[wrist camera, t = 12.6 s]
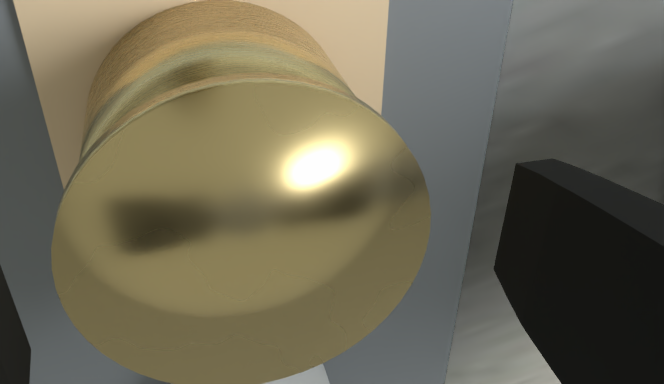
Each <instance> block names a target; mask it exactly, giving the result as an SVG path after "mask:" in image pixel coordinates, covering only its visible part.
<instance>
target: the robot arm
mask: <svg viewBox="0 0 664 384" xmlns="http://www.w3.org/2000/svg"><path fill="white" fill-rule="evenodd" d="M494 271H495V273H496V275H497V277H498V279H499V281H500V283H501V285H502V287H503V289H504V292H505V294H506V296H507V298H508V300H509V302H510V304H511V306H512V307H513V309H514V311H515V313H516V315H517V317H518V319H519V321H520V323H521V325H522V326H523V328H524V329H525V331H526V332H527V334H528V335H529V337H530V338H531V340H532V341H533V343H534V344H535V346H536V347H537V348H538V350H539V351H540V353H541V354H542V356H543V357H544V359H545V360H546V362H547V363H548V365H549V366H550V368H551V369H552V370H553V372H554V373H555V375H556V376H557V378H558V379H559V380H560V382H561V383H562V384H664V205H663V204H660V203H658V202H656V201H654V200H651V199H649V198H647V197H645V196H642V195H640V194H638V193H636V192H633V191H631V190H629V189H627V188H624V187H622V186H620V185H618V184H615V183H613V182H611V181H609V180H606V179H604V178H602V177H599V176H597V175H595V174H592V173H590V172H587V171H585V170H582V169H580V168H577V167H575V166H572V165H570V164H567V163H564V162H561V161H558V160H555V159H547V160H540V161H532V162H525V163H517V164H516V166H515V171H514V176H513V181H512V185H511V190H510V195H509V199H508V204H507V209H506V213H505V218H504V223H503V227H502V232H501V237H500V242H499V246H498V251H497V256H496V260H495V265H494ZM30 363H31V347H30V344H29V342H28V339H27V336H26V333H25V331H24V328H23V325H22V323H21V320H20V317H19V314H18V312H17V309H16V306H15V303H14V301H13V298H12V295H11V292H10V290H9V287H8V284H7V282H6V279H5V276H4V273H3V271H2V268H1V265H0V384H29V381H30Z"/></svg>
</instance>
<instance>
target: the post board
mask: <svg viewBox="0 0 664 384" xmlns="http://www.w3.org/2000/svg"><path fill="white" fill-rule="evenodd" d="M197 1H205V0H0V265H1V268H2V271H3V273H4V276H5V279H6V282H7V284H8V287H9V290H10V292H11V295H12V298H13V301H14V303H15V306H16V309H17V312H18V314H19V317H20V320H21V323H22V325H23V328H24V331H25V333H26V336H27V339H28V342H29V344H30V347H31V363H30V381H29V384H173V383H168V382H164V381H159V380H156V379H153V378H150V377H147V376H144V375H141V374H138V373H136V372H134V371H132V370H130V369H128V368H126V367H123V366H121V365H119V364H118V363H116V362H115V361H113V360H112V359H110V358H108V357H107V356H105V355H104V354H102V353H101V352H100V351H99V350H98V349H96V348H95V347H94V346H93V345H92V344H91V343H89V342H88V341H87V340H86V339H85V338H84V336H83V335H82V334H81V333H80V332H79V331H78V329H77V328H76V327H75V326H74V325H73V323H72V321H71V320H70V318H69V317H68V315H67V313H66V312H65V310H64V308H63V306H62V304H61V301H60V299H59V296H58V294H57V291H56V288H55V283H54V278H53V273H52V261H51V246H52V240H53V233H54V227H55V221H56V215H57V210H58V206H59V203H60V201H61V198H62V195H63V192H64V189H65V186H66V185H67V183H68V181H69V179H70V177H71V175H72V173H73V171H74V170H75V168H76V166H77V165H78V163H79V158H80V151H81V143H82V136H83V129H84V122H85V114H86V108H87V102H88V96H89V92H90V89H91V86H92V83H93V80H94V77H95V75H96V73H97V71H98V69H99V67H100V65H101V63H102V62H103V60H104V59H105V57H106V56H107V55H108V53H109V52H110V50H111V49H112V48H113V47H114V46H115V45H116V44H117V42H118V41H119V40H120V39H121V38H122V37H123V36H124V35H125V34H127V33H128V32H129V31H130V30H132V29H133V28H134V27H136V26H137V25H138V24H139V23H141V22H143V21H145V20H146V19H148V18H150V17H152V16H153V15H155V14H157V13H160V12H162V11H165V10H167V9H170V8H172V7H175V6H179V5H183V4H187V3H191V2H197ZM233 1H240V2H247V3H251V4H255V5H258V6H262V7H265V8H268V9H270V10H272V11H275V12H277V13H279V14H282V15H283V16H285V17H287V18H288V19H290V20H292V21H293V22H295V23H297V24H298V25H299V26H300V27H302V28H303V29H304V30H305V31H307V32H308V33H309V34H310V35H311V36H312V37H313V38H314V39H315V40H316V41H317V43H318V44H319V45H320V46H321V47H322V49H323V50H324V52H325V53H326V54H327V56H328V57H329V59H330V60H331V62H332V63H333V64H334V66H335V67H336V69H337V70H338V72H339V73H340V75H341V76H342V77H343V79H344V80H345V82H346V83H347V85H348V86H349V87H350V89H351V90H352V92H353V93H354V95H355V96H356V97H357V98H358V99H360V100H362V101H363V102H365V103H366V104H367V105H369V106H370V107H371V108H373V109H374V110H375V111H376V112H378V113H379V114H380V115H382V117H383V118H384V119H385V120H386V121H387V122H388V123H389V124H390V125H391V126H392V127H393V128H394V129H395V130H396V132H397V133H398V134H399V136H400V137H401V138H402V140H403V141H404V142H405V144H406V145H407V147H408V148H409V150H410V151H411V153H412V154H413V156H414V157H415V159H416V160H417V163H418V165H419V167H420V169H421V171H422V173H423V176H424V178H425V182H426V186H427V189H428V193H429V199H430V209H431V222H430V234H429V239H428V244H427V249H426V252H425V255H424V258H423V261H422V264H421V266H420V269H419V271H418V273H417V275H416V277H415V279H414V281H413V283H412V285H411V286H410V288H409V289H408V291H407V292H406V294H405V295H404V297H403V298H402V300H401V301H400V302H399V304H398V305H397V306H396V307H395V308H394V310H393V311H392V312H391V313H390V314H389V316H388V317H387V318H386V319H385V320H383V321H382V322H381V323H380V324H379V325H378V326H377V327H376V328H375V329H374V330H373V331H372V332H371V333H369V334H368V335H367V336H366V337H364V338H363V339H362V340H361V341H359V342H358V343H356V344H355V345H353V346H352V347H350V348H349V349H347V350H346V351H344V352H343V353H341V354H339V355H338V356H336V357H334V358H332V359H330V360H328V361H326V362H325V363H323V364H320V365H318V366H316V367H313V368H311V369H309V370H306V371H304V372H301V373H298V374H295V375H292V376H289V377H286V378H283V379H279V380H275V381H271V382H266V383H262V384H444V383H445V377H446V372H447V366H448V361H449V355H450V350H451V344H452V339H453V333H454V327H455V322H456V316H457V311H458V305H459V300H460V294H461V289H462V283H463V277H464V272H465V266H466V261H467V255H468V250H469V244H470V239H471V233H472V227H473V222H474V216H475V211H476V205H477V200H478V194H479V189H480V183H481V177H482V172H483V166H484V161H485V155H486V150H487V144H488V139H489V133H490V127H491V122H492V116H493V111H494V105H495V100H496V94H497V89H498V83H499V77H500V72H501V66H502V61H503V55H504V50H505V44H506V39H507V33H508V27H509V22H510V16H511V11H512V5H513V0H233Z"/></svg>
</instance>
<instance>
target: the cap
mask: <svg viewBox="0 0 664 384" xmlns="http://www.w3.org/2000/svg"><path fill="white" fill-rule="evenodd" d="M430 222H431V209H430V199H429V193H428V189H427V186H426V182H425V178H424V176H423V173H422V171H421V169H420V167H419V165H418V163H417V160H416V159H415V157H414V156H413V154H412V153H411V151H410V150H409V148H408V147H407V145H406V144H405V142H404V141H403V140H402V138H401V137H400V136H399V134H398V133H397V132H396V130H395V129H394V128H393V127H392V126H391V125H390V124H389V123H388V122H387V121H386V120H385V119H384V118H383V117H382V115H380V114H379V113H378V112H376V111H375V110H374V109H373V108H371V107H370V106H369V105H367V104H366V103H365V102H363V101H362V100H360V99H358V98H357V97H356V96H355V95H354V93H353V92H352V90H351V89H350V87H349V86H348V85H347V83H346V82H345V80H344V79H343V77H342V76H341V75H340V73H339V72H338V70H337V69H336V67H335V66H334V64H333V63H332V62H331V60H330V59H329V57H328V56H327V54H326V53H325V52H324V50H323V49H322V47H321V46H320V45H319V44H318V43H317V41H316V40H315V39H314V38H313V37H312V36H311V35H310V34H309V33H308V32H307V31H305V30H304V29H303V28H302V27H300V26H299V25H298V24H297V23H295V22H293V21H292V20H290V19H288V18H287V17H285V16H283V15H282V14H279V13H277V12H275V11H272V10H270V9H268V8H265V7H262V6H258V5H255V4H251V3H247V2H240V1H233V0H205V1H197V2H191V3H187V4H183V5H179V6H175V7H172V8H170V9H167V10H165V11H162V12H160V13H157V14H155V15H153V16H152V17H150V18H148V19H146V20H145V21H143V22H141V23H139V24H138V25H137V26H136V27H134V28H133V29H132V30H130V31H129V32H128V33H127V34H125V35H124V36H123V37H122V38H121V39H120V40H119V41H118V42H117V44H116V45H115V46H114V47H113V48H112V49H111V50H110V52H109V53H108V55H107V56H106V57H105V59H104V60H103V62H102V63H101V65H100V67H99V69H98V71H97V73H96V75H95V77H94V80H93V83H92V86H91V89H90V92H89V96H88V102H87V108H86V114H85V122H84V129H83V136H82V143H81V151H80V158H79V163H78V165H77V166H76V168H75V170H74V171H73V173H72V175H71V177H70V179H69V181H68V183H67V185H66V186H65V189H64V192H63V195H62V198H61V201H60V203H59V206H58V210H57V215H56V221H55V227H54V233H53V240H52V246H51V261H52V273H53V278H54V283H55V288H56V291H57V294H58V296H59V299H60V301H61V304H62V306H63V308H64V310H65V312H66V313H67V315H68V317H69V318H70V320H71V321H72V323H73V325H74V326H75V327H76V328H77V329H78V331H79V332H80V333H81V334H82V335H83V336H84V338H85V339H86V340H87V341H88V342H89V343H91V344H92V345H93V346H94V347H95V348H96V349H98V350H99V351H100V352H101V353H102V354H104V355H105V356H107V357H108V358H110V359H112V360H113V361H115V362H116V363H118V364H119V365H121V366H123V367H126V368H128V369H130V370H132V371H134V372H136V373H138V374H141V375H144V376H147V377H150V378H153V379H156V380H159V381H164V382H168V383H173V384H262V383H266V382H271V381H275V380H279V379H283V378H286V377H289V376H292V375H295V374H298V373H301V372H304V371H306V370H309V369H311V368H313V367H316V366H318V365H320V364H323V363H325V362H326V361H328V360H330V359H332V358H334V357H336V356H338V355H339V354H341V353H343V352H344V351H346V350H347V349H349V348H350V347H352V346H353V345H355V344H356V343H358V342H359V341H361V340H362V339H363V338H364V337H366V336H367V335H368V334H369V333H371V332H372V331H373V330H374V329H375V328H376V327H377V326H378V325H379V324H380V323H381V322H382V321H383V320H385V319H386V318H387V317H388V316H389V314H390V313H391V312H392V311H393V310H394V308H395V307H396V306H397V305H398V304H399V302H400V301H401V300H402V298H403V297H404V295H405V294H406V292H407V291H408V289H409V288H410V286H411V285H412V283H413V281H414V279H415V277H416V275H417V273H418V271H419V269H420V266H421V264H422V261H423V258H424V255H425V252H426V249H427V244H428V239H429V234H430Z"/></svg>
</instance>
